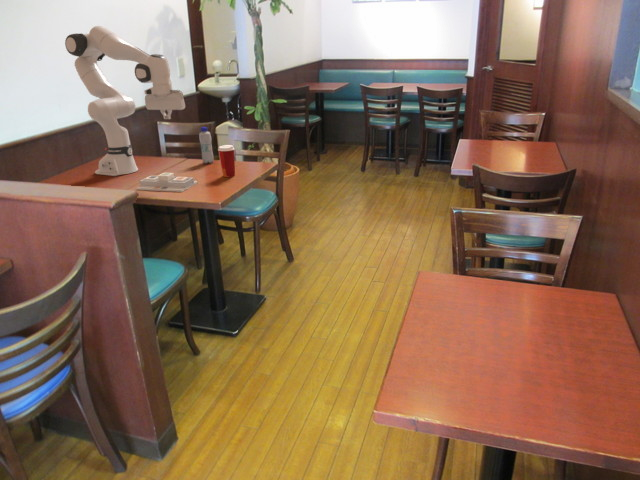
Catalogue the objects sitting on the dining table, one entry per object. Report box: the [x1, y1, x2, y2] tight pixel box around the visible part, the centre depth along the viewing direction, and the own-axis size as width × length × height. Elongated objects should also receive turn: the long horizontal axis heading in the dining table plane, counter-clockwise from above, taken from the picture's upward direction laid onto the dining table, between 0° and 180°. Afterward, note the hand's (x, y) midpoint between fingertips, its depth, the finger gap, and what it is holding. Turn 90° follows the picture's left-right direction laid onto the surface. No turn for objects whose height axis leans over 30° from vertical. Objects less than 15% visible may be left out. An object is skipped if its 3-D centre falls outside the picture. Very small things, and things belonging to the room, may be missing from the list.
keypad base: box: [136, 176, 198, 193], centre depth 245 cm, size 24×15×4 cm, turn 74°
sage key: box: [157, 172, 176, 182], centre depth 244 cm, size 6×6×3 cm
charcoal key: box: [144, 175, 158, 181], centre depth 246 cm, size 6×6×3 cm
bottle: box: [198, 126, 214, 164], centre depth 283 cm, size 7×7×20 cm
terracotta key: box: [172, 176, 190, 182], centre depth 242 cm, size 6×6×3 cm
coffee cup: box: [217, 144, 236, 178], centre depth 256 cm, size 8×8×15 cm
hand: (167, 118), depth 252 cm, fingers closed
